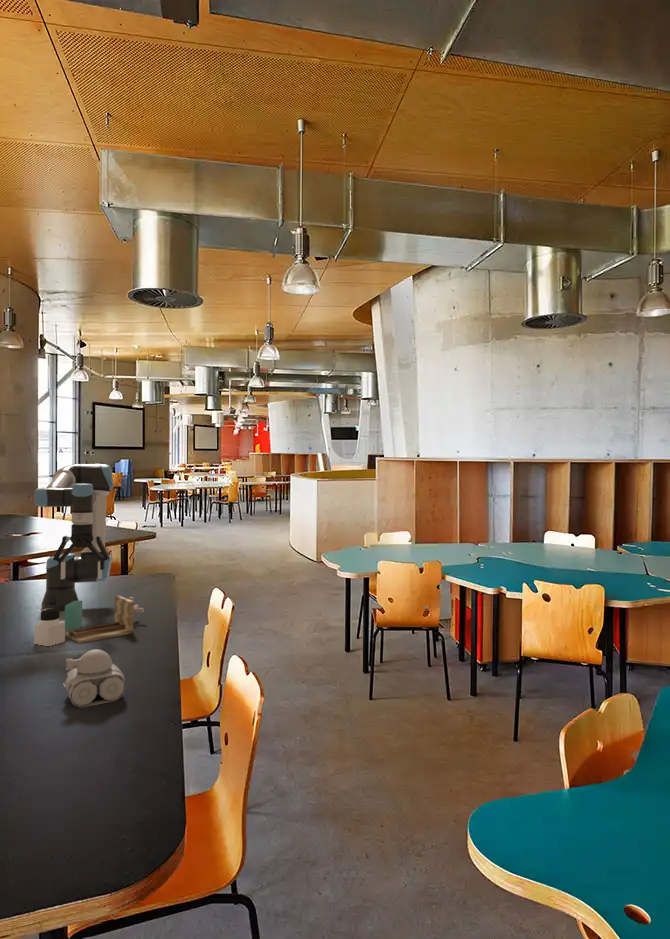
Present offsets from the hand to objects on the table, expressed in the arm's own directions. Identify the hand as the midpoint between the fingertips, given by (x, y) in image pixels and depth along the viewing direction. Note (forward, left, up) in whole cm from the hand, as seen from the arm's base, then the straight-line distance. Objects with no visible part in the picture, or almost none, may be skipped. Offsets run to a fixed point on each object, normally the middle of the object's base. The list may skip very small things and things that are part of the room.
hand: (81, 578), depth 224 cm
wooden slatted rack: (+12, +3, -19) cm, 23 cm away
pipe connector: (+3, +19, -20) cm, 27 cm away
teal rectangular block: (-1, -2, -19) cm, 20 cm away
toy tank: (+72, -21, -20) cm, 78 cm away
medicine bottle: (+12, -15, -20) cm, 27 cm away
